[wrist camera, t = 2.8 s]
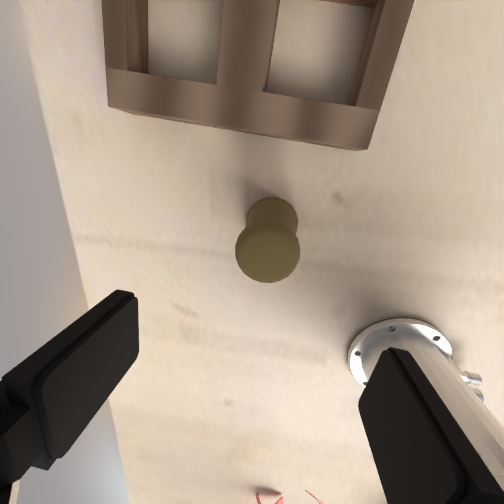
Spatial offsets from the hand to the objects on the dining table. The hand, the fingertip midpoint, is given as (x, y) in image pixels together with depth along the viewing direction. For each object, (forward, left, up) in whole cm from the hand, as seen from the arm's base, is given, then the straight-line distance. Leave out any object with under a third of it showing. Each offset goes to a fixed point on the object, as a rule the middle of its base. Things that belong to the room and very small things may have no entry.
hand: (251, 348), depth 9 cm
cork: (0, 0, -20) cm, 20 cm away
